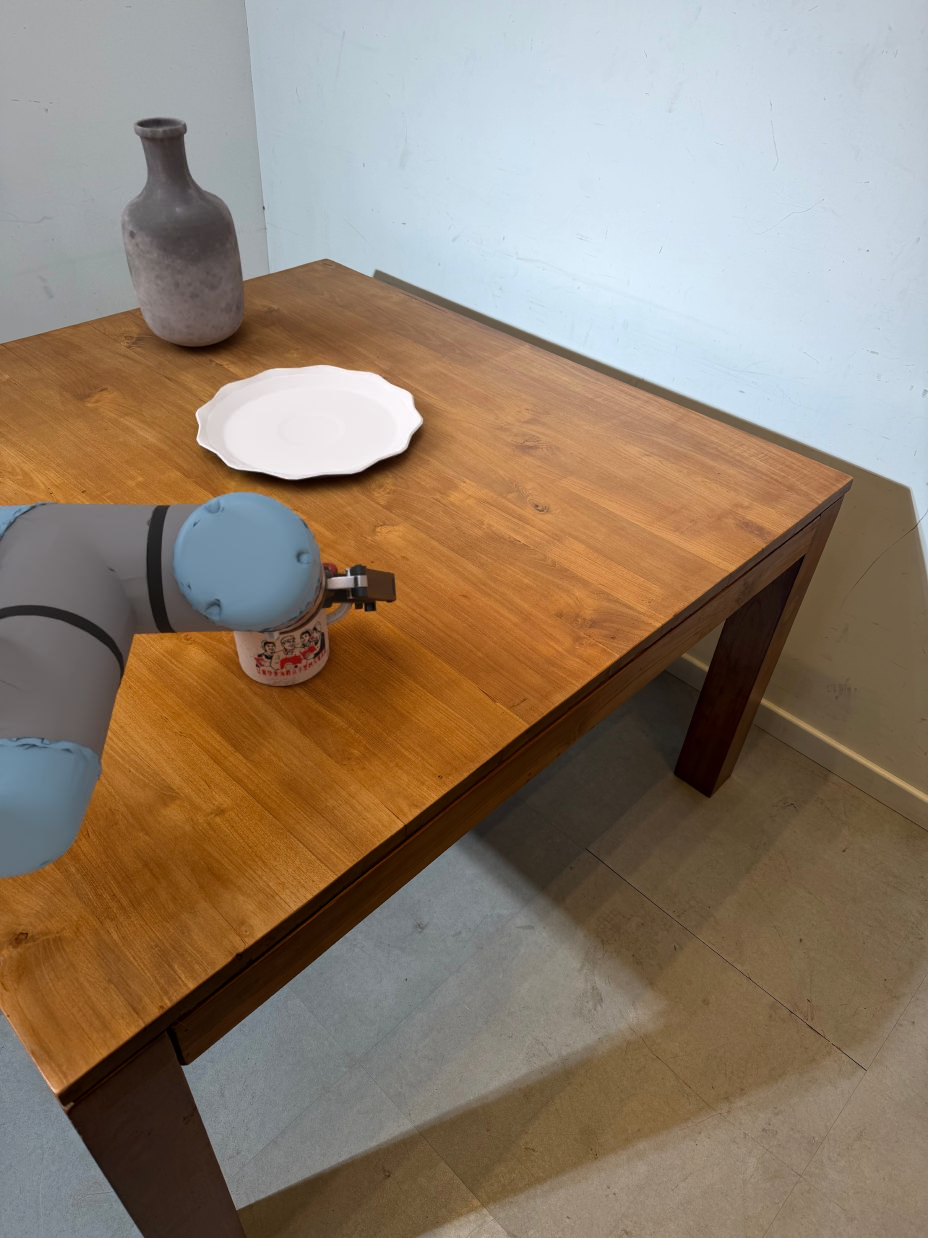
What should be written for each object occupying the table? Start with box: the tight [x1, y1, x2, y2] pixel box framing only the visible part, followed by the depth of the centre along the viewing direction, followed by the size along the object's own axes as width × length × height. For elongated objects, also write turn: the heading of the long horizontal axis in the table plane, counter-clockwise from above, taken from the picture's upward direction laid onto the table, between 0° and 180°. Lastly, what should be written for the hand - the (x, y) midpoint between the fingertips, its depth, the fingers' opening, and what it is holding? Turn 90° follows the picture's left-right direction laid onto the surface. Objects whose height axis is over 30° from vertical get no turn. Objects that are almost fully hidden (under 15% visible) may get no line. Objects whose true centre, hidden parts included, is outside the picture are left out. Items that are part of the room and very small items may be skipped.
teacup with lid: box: [233, 603, 354, 687], centre depth 78 cm, size 12×9×12 cm
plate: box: [195, 364, 424, 482], centre depth 111 cm, size 29×29×2 cm
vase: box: [120, 116, 245, 348], centre depth 121 cm, size 16×16×30 cm
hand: (294, 600), depth 81 cm, fingers closed on teacup with lid, 12 cm apart
